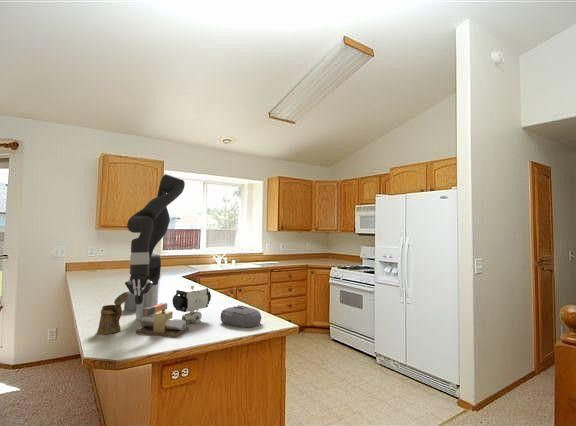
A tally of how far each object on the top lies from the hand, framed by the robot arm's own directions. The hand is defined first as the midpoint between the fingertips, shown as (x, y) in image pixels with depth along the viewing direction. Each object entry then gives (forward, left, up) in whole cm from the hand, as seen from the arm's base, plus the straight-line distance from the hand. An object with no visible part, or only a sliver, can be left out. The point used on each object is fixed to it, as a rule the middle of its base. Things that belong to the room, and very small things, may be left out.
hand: (138, 304), depth 140 cm
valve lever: (+6, +4, -4) cm, 8 cm away
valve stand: (+6, +9, -14) cm, 17 cm away
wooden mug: (-15, +3, -14) cm, 21 cm away
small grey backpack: (+34, +32, -14) cm, 49 cm away
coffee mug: (-36, +43, -14) cm, 58 cm away
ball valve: (+10, +27, -14) cm, 32 cm away
